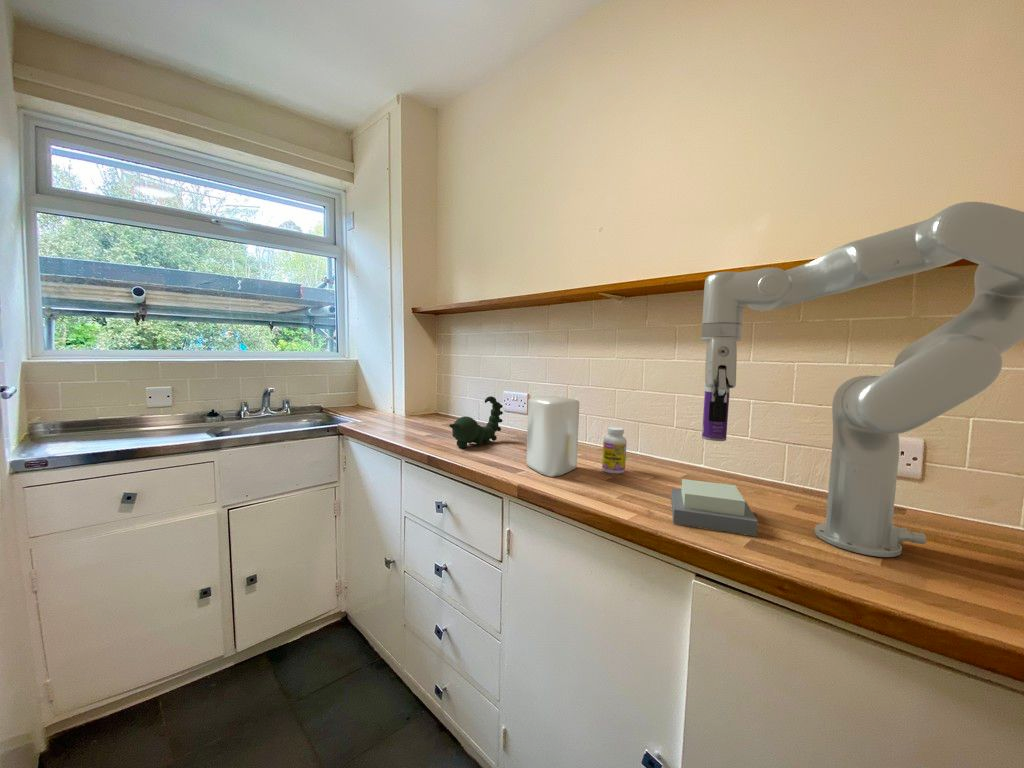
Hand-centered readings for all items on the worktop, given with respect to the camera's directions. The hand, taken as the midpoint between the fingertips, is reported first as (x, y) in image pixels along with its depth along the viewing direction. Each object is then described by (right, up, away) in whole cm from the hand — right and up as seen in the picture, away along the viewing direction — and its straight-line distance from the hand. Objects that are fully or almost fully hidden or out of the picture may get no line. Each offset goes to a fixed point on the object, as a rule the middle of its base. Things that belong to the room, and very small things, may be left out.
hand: (715, 418), depth 87 cm
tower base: (-1, -21, +1) cm, 21 cm away
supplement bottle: (-13, -19, +35) cm, 42 cm away
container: (0, -5, 0) cm, 5 cm away
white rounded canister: (-32, -18, +33) cm, 49 cm away
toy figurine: (-57, -15, +64) cm, 87 cm away
